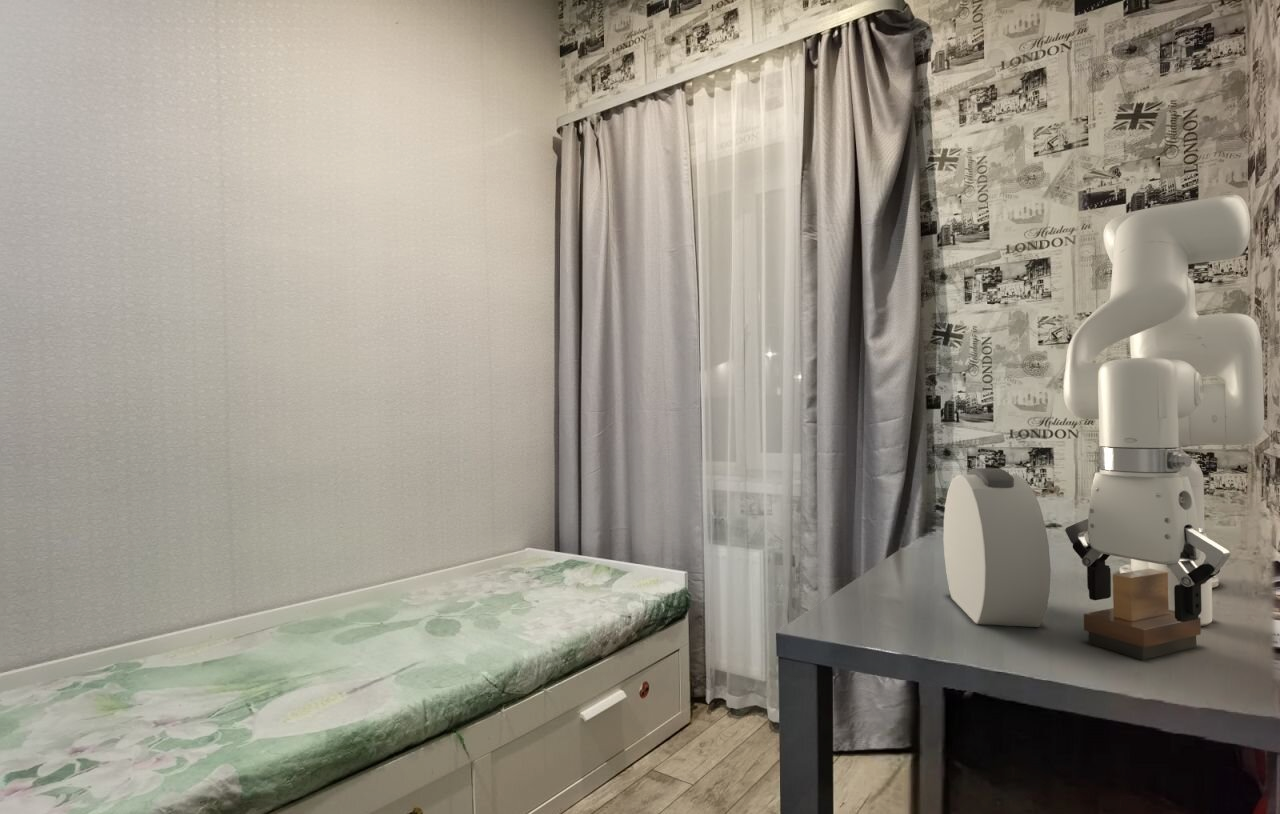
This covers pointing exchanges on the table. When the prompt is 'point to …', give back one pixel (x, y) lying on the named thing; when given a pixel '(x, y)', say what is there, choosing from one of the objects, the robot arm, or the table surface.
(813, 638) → the table surface
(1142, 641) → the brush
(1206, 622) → the can
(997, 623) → the alarm clock
